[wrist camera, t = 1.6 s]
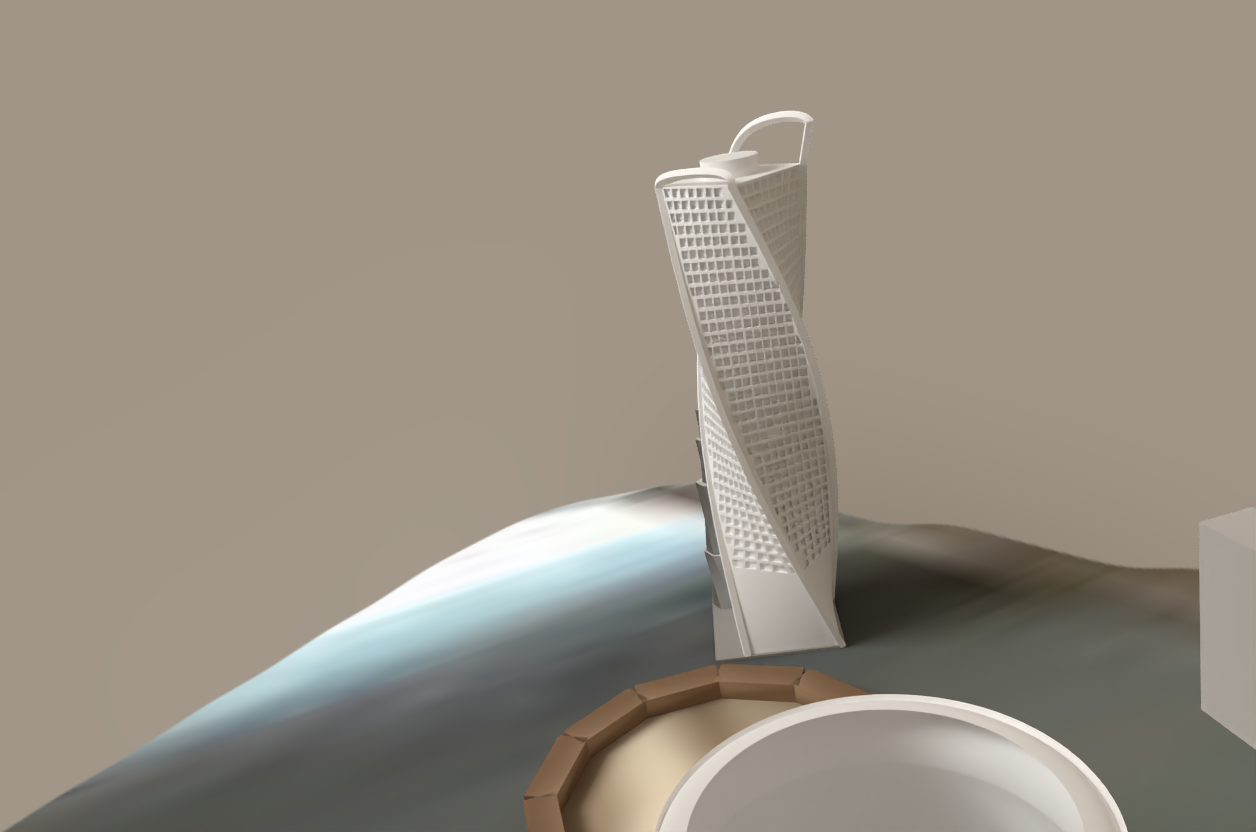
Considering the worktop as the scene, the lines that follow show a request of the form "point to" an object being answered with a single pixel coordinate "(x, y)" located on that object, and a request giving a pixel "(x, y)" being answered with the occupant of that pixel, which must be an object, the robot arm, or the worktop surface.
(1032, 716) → the worktop surface
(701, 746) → the coaster
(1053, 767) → the jar
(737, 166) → the skyscraper
